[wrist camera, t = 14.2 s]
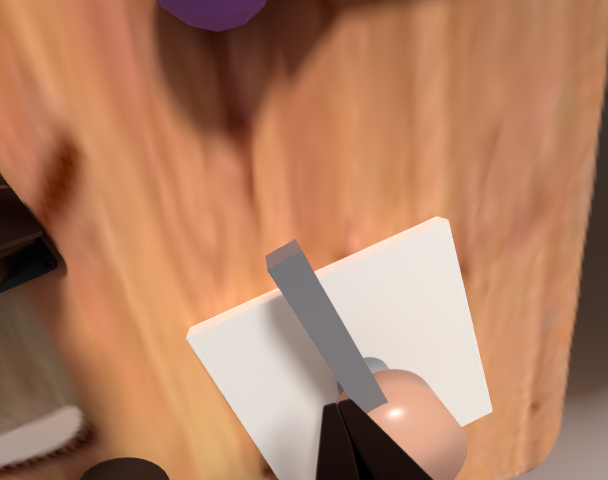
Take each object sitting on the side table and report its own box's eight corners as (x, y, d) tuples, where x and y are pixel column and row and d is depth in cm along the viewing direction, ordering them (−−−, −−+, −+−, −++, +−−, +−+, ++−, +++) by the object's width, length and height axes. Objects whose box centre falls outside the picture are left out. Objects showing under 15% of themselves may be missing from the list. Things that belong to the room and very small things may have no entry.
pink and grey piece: (447, 422, 19) (481, 469, 16) (356, 476, 19) (374, 533, 16) (343, 209, 14) (367, 222, 11) (215, 282, 13) (206, 315, 11)
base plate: (295, 491, 24) (303, 554, 20) (190, 327, 18) (173, 371, 14) (481, 399, 25) (523, 443, 21) (436, 216, 19) (481, 230, 15)
